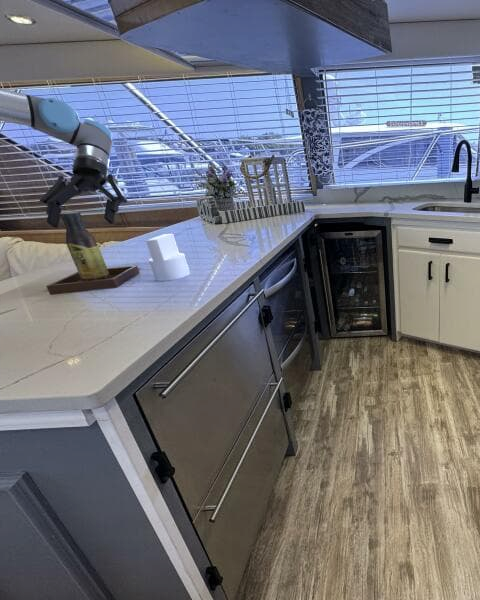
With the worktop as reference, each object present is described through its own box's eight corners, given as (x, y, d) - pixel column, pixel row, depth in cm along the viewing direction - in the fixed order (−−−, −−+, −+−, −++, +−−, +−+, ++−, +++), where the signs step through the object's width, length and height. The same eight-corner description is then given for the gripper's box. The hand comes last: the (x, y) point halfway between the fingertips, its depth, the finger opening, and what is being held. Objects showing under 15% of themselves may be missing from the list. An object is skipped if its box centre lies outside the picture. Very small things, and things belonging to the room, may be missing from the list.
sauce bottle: (78, 283, 93) (46, 213, 85) (103, 276, 98) (75, 210, 90) (92, 286, 90) (59, 214, 83) (116, 278, 96) (88, 210, 88)
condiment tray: (50, 294, 87) (45, 286, 86) (82, 278, 99) (78, 271, 98) (116, 287, 90) (113, 279, 89) (139, 273, 102) (137, 265, 101)
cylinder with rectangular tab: (165, 272, 102) (152, 234, 97) (195, 270, 102) (184, 232, 98) (148, 282, 93) (133, 241, 89) (181, 279, 94) (167, 239, 89)
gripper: (144, 172, 104) (139, 226, 97) (53, 176, 99) (39, 234, 92) (130, 154, 97) (123, 211, 90) (31, 157, 92) (14, 218, 85)
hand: (80, 222), depth 91 cm, fingers open, 13 cm apart
